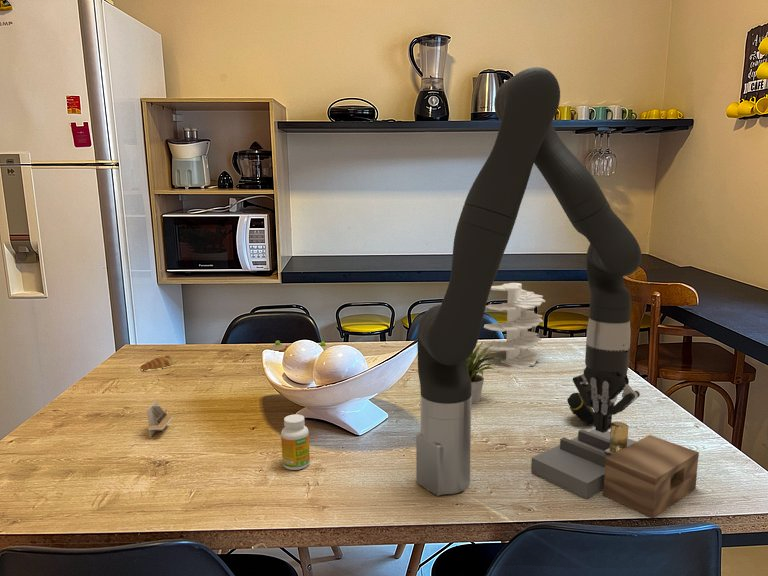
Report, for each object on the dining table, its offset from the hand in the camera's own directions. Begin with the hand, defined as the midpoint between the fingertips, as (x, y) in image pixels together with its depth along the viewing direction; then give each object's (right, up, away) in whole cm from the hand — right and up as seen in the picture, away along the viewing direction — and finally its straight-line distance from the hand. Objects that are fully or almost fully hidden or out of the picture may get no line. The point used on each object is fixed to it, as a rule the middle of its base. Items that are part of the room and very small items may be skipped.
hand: (602, 430), depth 106 cm
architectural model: (-92, -6, +20) cm, 95 cm away
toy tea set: (-66, +2, +67) cm, 94 cm away
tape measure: (+4, -4, +24) cm, 24 cm away
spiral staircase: (-2, +4, +67) cm, 68 cm away
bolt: (+4, -6, -5) cm, 9 cm away
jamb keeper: (+6, -9, -7) cm, 13 cm away
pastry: (-113, +1, +64) cm, 130 cm away
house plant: (-20, -2, +36) cm, 41 cm away
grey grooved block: (-1, -8, +3) cm, 8 cm away
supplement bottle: (-59, -8, +5) cm, 60 cm away
